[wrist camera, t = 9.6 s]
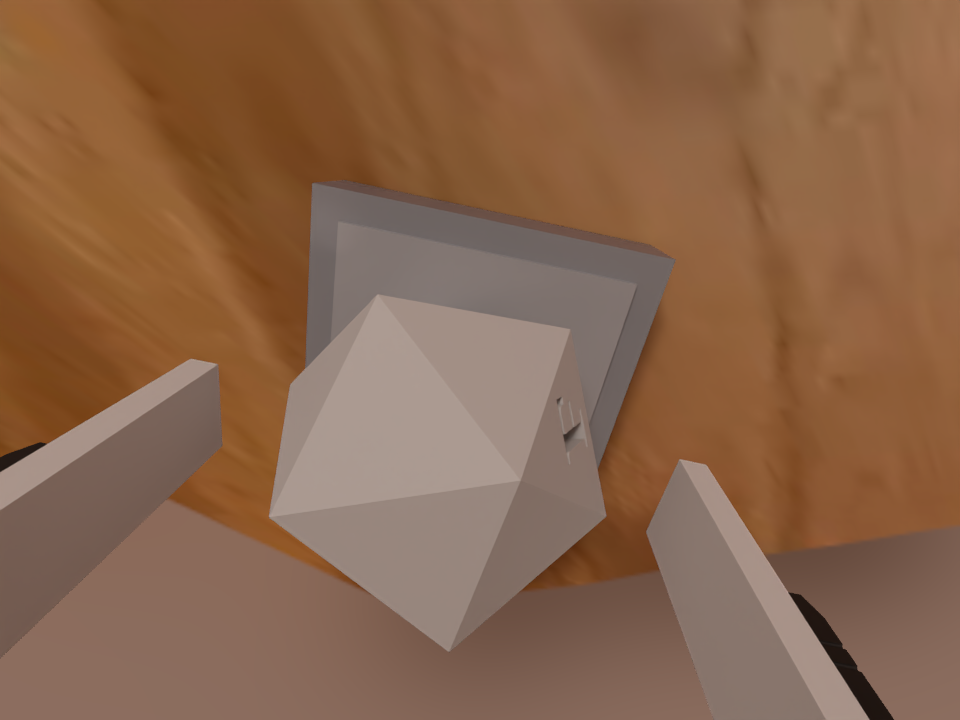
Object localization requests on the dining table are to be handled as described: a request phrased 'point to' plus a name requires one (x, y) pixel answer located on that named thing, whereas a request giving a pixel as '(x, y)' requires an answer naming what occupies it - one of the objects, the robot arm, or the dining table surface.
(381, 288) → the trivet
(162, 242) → the dining table surface
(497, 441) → the die
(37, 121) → the dining table surface
